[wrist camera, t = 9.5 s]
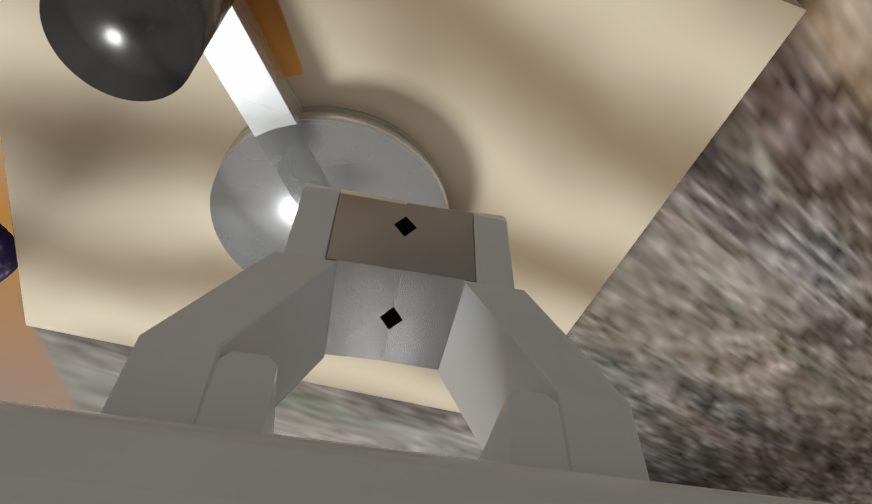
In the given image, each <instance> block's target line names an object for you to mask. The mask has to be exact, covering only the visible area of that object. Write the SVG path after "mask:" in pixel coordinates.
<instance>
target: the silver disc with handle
mask: <svg viewBox="0 0 872 504" xmlns="http://www.w3.org/2000/svg"><path fill="white" fill-rule="evenodd" d="M39 13H40V20H41V24H42V27H43V31H44V33H45V35H46V38H47V40H48V42H49V44H50V45H51V47H52V49H53V50H54V52H55V53H56V55H57V56H58V58H59V59H60V60H61V61H62V62H63V63H64V65H65V66H66V67H67V68H68V69H69V70H70V71H71V72H72V73H74V74H75V75H76V76H77V77H79V78H80V79H81V80H82V81H84V82H85V83H87V84H88V85H90V86H92V87H93V88H95V89H97V90H99V91H101V92H103V93H105V94H108V95H110V96H113V97H116V98H120V99H124V100H130V101H154V100H158V99H162V98H165V97H167V96H170V95H171V94H173V93H175V92H176V91H177V90H179V89H180V88H181V87H182V86H183V85H184V84H185V82H186V81H187V80H188V78H189V76H190V75H191V73H192V71H193V70H194V68H195V66H196V65H197V63H198V61H199V60H200V58H201V56H202V55H203V53H204V54H205V56H206V57H207V59H208V61H209V62H210V64H211V65H212V67H213V69H214V70H215V72H216V74H217V75H218V77H219V79H220V80H221V82H222V83H223V85H224V87H225V88H226V90H227V92H228V93H229V95H230V97H231V98H232V100H233V102H234V103H235V105H236V106H237V108H238V110H239V111H240V113H241V115H242V116H243V118H244V120H245V121H246V123H247V124H248V126H249V128H248V129H246V130H245V131H244V132H242V133H241V134H240V135H239V137H238V138H237V139H236V140H235V141H234V142H233V143H232V145H231V146H230V148H229V149H228V151H227V152H226V154H225V156H224V159H223V161H222V163H221V166H220V168H219V170H218V172H217V175H216V177H215V179H214V182H213V185H212V190H211V194H210V212H211V219H212V223H213V226H214V229H215V232H216V234H217V236H218V238H219V240H220V242H221V244H222V245H223V247H224V248H225V250H226V251H227V253H228V254H229V255H230V256H231V258H232V259H233V260H234V261H235V262H236V263H237V264H238V265H239V266H240V267H241V268H242V269H243V270H245V269H246V268H248V267H250V266H251V265H253V264H254V263H256V262H258V261H259V260H261V259H262V258H264V257H266V256H267V255H269V254H270V253H272V252H281V253H284V251H285V248H286V244H287V241H288V238H289V234H290V231H291V228H292V224H293V221H294V218H295V214H296V211H297V208H298V204H299V201H300V198H301V194H302V191H303V188H304V187H305V186H306V184H307V183H308V184H314V185H320V186H326V187H332V188H337V189H340V191H341V190H342V189H343V190H348V191H354V192H359V193H364V194H369V195H375V196H380V197H385V198H391V199H396V200H401V201H406V202H408V203H415V204H421V205H427V206H434V207H440V208H446V209H449V199H448V192H447V188H446V185H445V181H444V178H443V176H442V174H441V172H440V170H439V168H438V166H437V165H436V163H435V162H434V160H433V159H432V157H431V156H430V155H429V153H428V152H427V151H426V150H425V149H424V148H423V147H422V146H421V145H420V144H419V143H418V142H417V141H416V140H415V139H413V138H412V137H411V136H410V135H409V134H407V133H406V132H404V131H403V130H401V129H400V128H398V127H397V126H395V125H393V124H391V123H389V122H387V121H385V120H383V119H381V118H379V117H376V116H373V115H371V114H368V113H365V112H362V111H358V110H353V109H349V108H343V107H335V106H306V107H302V106H301V104H300V102H299V100H298V98H297V96H296V94H295V92H294V91H293V89H292V87H291V85H290V83H289V81H288V79H287V77H286V76H285V74H284V72H283V70H282V68H281V66H280V64H279V62H278V61H277V59H276V57H275V55H274V53H273V51H272V49H271V47H270V46H269V44H268V42H267V40H266V38H265V36H264V34H263V32H262V31H261V29H260V27H259V25H258V23H257V21H256V19H255V17H254V16H253V14H252V12H251V10H250V8H249V6H248V4H247V2H246V1H245V0H40V2H39Z"/></svg>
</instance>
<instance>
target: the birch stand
mask: <svg viewBox="0 0 872 504" xmlns="http://www.w3.org/2000/svg"><path fill="white" fill-rule="evenodd" d="M245 1H246V2H247V4H248V6H249V8H250V10H251V12H252V14H253V16H254V17H255V19H256V21H257V23H258V25H259V27H260V29H261V31H262V32H263V34H264V36H265V38H266V40H267V42H268V44H269V46H270V47H271V49H272V51H273V53H274V55H275V57H276V59H277V61H278V62H279V64H280V66H281V68H282V70H283V72H284V74H285V76H286V77H287V79H288V81H289V83H290V85H291V87H292V89H293V91H294V92H295V94H296V96H297V98H298V100H299V102H300V104H301V106H302V107H306V106H335V107H343V108H349V109H353V110H358V111H362V112H365V113H368V114H371V115H373V116H376V117H379V118H381V119H383V120H385V121H387V122H389V123H391V124H393V125H395V126H397V127H398V128H400V129H401V130H403V131H404V132H406V133H407V134H409V135H410V136H411V137H412V138H413V139H415V140H416V141H417V142H418V143H419V144H420V145H421V146H422V147H423V148H424V149H425V150H426V151H427V152H428V153H429V155H430V156H431V157H432V159H433V160H434V162H435V163H436V165H437V166H438V168H439V170H440V172H441V174H442V176H443V178H444V181H445V185H446V188H447V192H448V199H449V209H453V210H459V211H465V212H479V213H486V214H493V215H501V216H504V217H505V219H506V220H507V228H508V237H509V245H510V253H511V262H512V270H513V279H514V287H515V289H520V290H524V291H525V292H526V293H527V294H528V295H529V296H530V297H531V298H532V299H533V300H534V301H535V302H536V304H537V305H538V306H539V307H540V308H541V309H542V310H543V311H544V312H545V313H546V314H547V315H548V316H549V317H550V318H551V320H552V321H553V322H554V323H555V324H556V325H557V326H558V327H559V328H560V329H561V330H562V331H563V332H564V333H565V335H567V333H568V332H569V331H570V329H571V328H572V327H573V325H574V324H575V322H576V321H577V320H578V318H579V317H580V316H581V314H582V313H583V312H584V310H585V309H586V308H587V306H588V305H589V304H590V302H591V301H592V300H593V298H594V297H595V295H596V294H597V293H598V291H599V290H600V289H601V287H602V286H603V285H604V283H605V282H606V281H607V279H608V278H609V277H610V275H611V274H612V273H613V271H614V270H615V268H616V267H617V266H618V264H619V263H620V262H621V260H622V259H623V258H624V256H625V255H626V254H627V252H628V251H629V250H630V248H631V247H632V245H633V244H634V243H635V241H636V240H637V239H638V237H639V236H640V235H641V233H642V232H643V231H644V229H645V228H646V227H647V225H648V224H649V223H650V221H651V220H652V218H653V217H654V216H655V214H656V213H657V212H658V210H659V209H660V208H661V206H662V205H663V204H664V202H665V201H666V200H667V198H668V197H669V196H670V194H671V193H672V191H673V190H674V189H675V187H676V186H677V185H678V183H679V182H680V181H681V179H682V178H683V177H684V175H685V174H686V173H687V171H688V170H689V168H690V167H691V166H692V164H693V163H694V162H695V160H696V159H697V158H698V156H699V155H700V154H701V152H702V151H703V150H704V148H705V147H706V146H707V144H708V143H709V141H710V140H711V139H712V137H713V136H714V135H715V133H716V132H717V131H718V129H719V128H720V127H721V125H722V124H723V123H724V121H725V120H726V119H727V117H728V116H729V114H730V113H731V112H732V110H733V109H734V108H735V106H736V105H737V104H738V102H739V101H740V100H741V98H742V97H743V96H744V94H745V93H746V91H747V90H748V89H749V87H750V86H751V85H752V83H753V82H754V81H755V79H756V78H757V77H758V75H759V74H760V73H761V71H762V70H763V69H764V67H765V66H766V64H767V63H768V62H769V60H770V59H771V58H772V56H773V55H774V54H775V52H776V51H777V50H778V48H779V47H780V46H781V44H782V43H783V42H784V40H785V39H786V37H787V36H788V35H789V33H790V32H791V31H792V29H793V28H794V27H795V25H796V24H797V23H798V21H799V20H800V19H801V17H802V16H803V14H804V13H805V12H806V9H805V8H804V7H803V6H802V5H801V4H800V3H799V2H798V1H797V0H245ZM39 2H40V0H0V136H1V143H2V151H3V158H4V165H5V173H6V180H7V187H8V195H9V203H10V210H11V218H12V225H13V232H14V240H15V247H16V255H17V262H18V270H19V276H20V284H21V292H22V299H23V307H24V314H25V322H26V325H28V326H33V327H38V328H43V329H48V330H53V331H58V332H63V333H67V334H72V335H77V336H82V337H87V338H92V339H97V340H102V341H107V342H112V343H117V344H122V345H127V346H132V347H134V345H135V343H136V341H137V339H138V337H139V335H141V334H142V333H144V332H145V331H147V330H149V329H150V328H152V327H153V326H155V325H157V324H158V323H160V322H161V321H163V320H165V319H166V318H168V317H169V316H171V315H173V314H174V313H176V312H178V311H179V310H181V309H182V308H184V307H186V306H187V305H189V304H190V303H192V302H194V301H195V300H197V299H198V298H200V297H202V296H203V295H205V294H206V293H208V292H210V291H211V290H213V289H214V288H216V287H218V286H219V285H221V284H222V283H224V282H226V281H227V280H229V279H230V278H232V277H234V276H235V275H237V274H238V273H240V272H242V271H243V269H242V268H241V267H240V266H239V265H238V264H237V263H236V262H235V261H234V260H233V259H232V258H231V256H230V255H229V254H228V253H227V251H226V250H225V248H224V247H223V245H222V244H221V242H220V240H219V238H218V236H217V234H216V232H215V229H214V226H213V223H212V219H211V212H210V194H211V190H212V185H213V182H214V179H215V177H216V175H217V172H218V170H219V168H220V166H221V163H222V161H223V159H224V156H225V154H226V152H227V151H228V149H229V148H230V146H231V145H232V143H233V142H234V141H235V140H236V139H237V138H238V137H239V135H240V134H241V133H242V132H244V131H245V130H246V129H248V128H249V126H248V124H247V123H246V121H245V120H244V118H243V116H242V115H241V113H240V111H239V110H238V108H237V106H236V105H235V103H234V102H233V100H232V98H231V97H230V95H229V93H228V92H227V90H226V88H225V87H224V85H223V83H222V82H221V80H220V79H219V77H218V75H217V74H216V72H215V70H214V69H213V67H212V65H211V64H210V62H209V61H208V59H207V57H206V56H205V54H204V53H203V55H202V56H201V58H200V60H199V61H198V63H197V65H196V66H195V68H194V70H193V71H192V73H191V75H190V76H189V78H188V80H187V81H186V82H185V84H184V85H183V86H182V87H181V88H180V89H179V90H177V91H176V92H175V93H173V94H171V95H170V96H167V97H165V98H162V99H158V100H154V101H130V100H124V99H120V98H116V97H113V96H110V95H108V94H105V93H103V92H101V91H99V90H97V89H95V88H93V87H92V86H90V85H88V84H87V83H85V82H84V81H82V80H81V79H80V78H79V77H77V76H76V75H75V74H74V73H72V72H71V71H70V70H69V69H68V68H67V67H66V66H65V65H64V63H63V62H62V61H61V60H60V59H59V58H58V56H57V55H56V53H55V52H54V50H53V49H52V47H51V45H50V44H49V42H48V40H47V38H46V35H45V33H44V31H43V27H42V24H41V20H40V13H39ZM301 381H305V382H310V383H315V384H320V385H325V386H330V387H335V388H340V389H345V390H350V391H355V392H360V393H365V394H370V395H375V396H380V397H385V398H390V399H395V400H400V401H405V402H410V403H414V404H419V405H424V406H429V407H434V408H439V409H444V410H449V411H454V412H459V413H461V412H460V410H459V408H458V407H457V405H456V403H455V401H454V400H453V398H452V396H451V395H450V393H449V391H448V389H447V388H446V386H445V384H444V383H443V381H442V379H441V377H440V376H439V374H438V370H435V369H429V368H423V367H417V366H411V365H405V364H399V363H393V362H387V361H381V360H372V359H363V358H354V357H345V356H336V355H327V354H324V358H323V359H322V360H321V361H320V362H319V363H318V364H317V365H316V366H315V367H314V368H313V369H312V370H311V371H310V372H309V373H308V374H307V375H306V376H305V377H304V378H303V379H302V380H301Z"/></svg>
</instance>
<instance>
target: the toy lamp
mask: <svg viewBox="0 0 872 504" xmlns="http://www.w3.org/2000/svg"><path fill="white" fill-rule="evenodd" d="M17 267H18V262H17V255H16V247H15V240H14V237H13V235H12V234H11V233H10V232H8V231H7V229H6V228H5V227H4V226H2V225H1V224H0V282H1V281H3V280H4V279H5V278H7V277H8V276H9V275H10V274H11V273H12V272H14V271H15V270H16V268H17Z"/></svg>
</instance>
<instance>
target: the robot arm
mask: <svg viewBox="0 0 872 504" xmlns="http://www.w3.org/2000/svg"><path fill="white" fill-rule="evenodd" d="M324 354H327V355H336V356H345V357H354V358H363V359H372V360H381V361H387V362H393V363H399V364H405V365H411V366H417V367H423V368H429V369H435V370H438V374H439V376H440V377H441V379H442V381H443V383H444V384H445V386H446V388H447V389H448V391H449V393H450V395H451V396H452V398H453V400H454V401H455V403H456V405H457V407H458V408H459V410H460V412H461V414H462V415H463V417H464V419H465V420H466V422H467V424H468V426H469V427H470V429H471V431H472V432H473V434H474V436H475V438H476V439H477V441H478V443H479V444H480V446H481V448H482V450H483V452H482V454H481V456H480V458H479V459H470V458H462V457H454V456H446V455H438V454H430V453H422V452H414V451H406V450H397V449H389V448H381V447H373V446H365V445H357V444H349V443H341V442H333V441H324V440H316V439H308V438H300V437H292V436H284V435H276V434H273V433H274V417H275V407H276V406H277V405H278V404H279V403H280V402H281V401H282V400H283V399H284V398H285V397H286V396H287V395H288V394H289V393H290V392H291V391H292V390H293V389H294V388H295V387H296V386H297V385H298V384H299V383H300V382H301V380H302V379H303V378H304V377H305V376H306V375H307V374H308V373H309V372H310V371H311V370H312V369H313V368H314V367H315V366H316V365H317V364H318V363H319V362H320V361H321V360H322V359H323V358H324ZM0 504H834V503H826V502H818V501H810V500H802V499H794V498H786V497H777V496H769V495H761V494H753V493H745V492H737V491H729V490H721V489H712V488H704V487H696V486H688V485H680V484H672V483H664V482H656V481H650V479H649V475H648V471H647V467H646V464H645V460H644V456H643V452H642V448H641V444H640V440H639V436H638V433H637V429H636V425H635V421H634V417H633V413H632V409H631V405H630V403H629V402H628V401H627V400H626V399H625V398H624V397H623V396H622V395H621V393H620V392H619V391H618V390H617V389H616V388H615V387H614V386H613V385H612V384H611V383H610V382H609V381H608V380H607V378H606V377H605V376H604V375H603V374H602V373H601V372H600V371H599V370H598V369H597V368H596V367H595V366H594V365H593V363H592V362H591V361H590V360H589V359H588V358H587V357H586V356H585V355H584V354H583V353H582V352H581V351H580V350H579V348H578V347H577V346H576V345H575V344H574V343H573V342H572V341H571V340H570V339H569V338H568V337H567V336H566V335H565V333H564V332H563V331H562V330H561V329H560V328H559V327H558V326H557V325H556V324H555V323H554V322H553V321H552V320H551V318H550V317H549V316H548V315H547V314H546V313H545V312H544V311H543V310H542V309H541V308H540V307H539V306H538V305H537V304H536V302H535V301H534V300H533V299H532V298H531V297H530V296H529V295H528V294H527V293H526V292H525V291H524V290H520V289H515V287H514V279H513V270H512V262H511V253H510V245H509V237H508V228H507V220H506V219H505V217H504V216H501V215H493V214H486V213H479V212H465V211H459V210H453V209H446V208H440V207H434V206H427V205H421V204H415V203H408V202H406V201H401V200H396V199H391V198H385V197H380V196H375V195H369V194H364V193H359V192H354V191H348V190H343V189H342V190H341V191H340V189H337V188H332V187H326V186H320V185H314V184H308V183H307V184H306V186H305V187H304V188H303V191H302V194H301V198H300V201H299V204H298V208H297V211H296V214H295V218H294V221H293V224H292V228H291V231H290V234H289V238H288V241H287V244H286V248H285V251H284V253H281V252H272V253H270V254H269V255H267V256H266V257H264V258H262V259H261V260H259V261H258V262H256V263H254V264H253V265H251V266H250V267H248V268H246V269H245V270H243V271H242V272H240V273H238V274H237V275H235V276H234V277H232V278H230V279H229V280H227V281H226V282H224V283H222V284H221V285H219V286H218V287H216V288H214V289H213V290H211V291H210V292H208V293H206V294H205V295H203V296H202V297H200V298H198V299H197V300H195V301H194V302H192V303H190V304H189V305H187V306H186V307H184V308H182V309H181V310H179V311H178V312H176V313H174V314H173V315H171V316H169V317H168V318H166V319H165V320H163V321H161V322H160V323H158V324H157V325H155V326H153V327H152V328H150V329H149V330H147V331H145V332H144V333H142V334H141V335H139V337H138V339H137V341H136V343H135V345H134V347H133V349H132V351H131V353H130V355H129V357H128V359H127V361H126V363H125V365H124V367H123V369H122V371H121V374H120V376H119V378H118V380H117V382H116V384H115V386H114V388H113V390H112V392H111V394H110V396H109V398H108V400H107V402H106V404H105V406H104V408H103V410H102V412H101V413H98V412H89V411H81V410H73V409H65V408H56V407H48V406H40V405H33V404H25V403H17V402H8V401H0Z"/></svg>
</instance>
